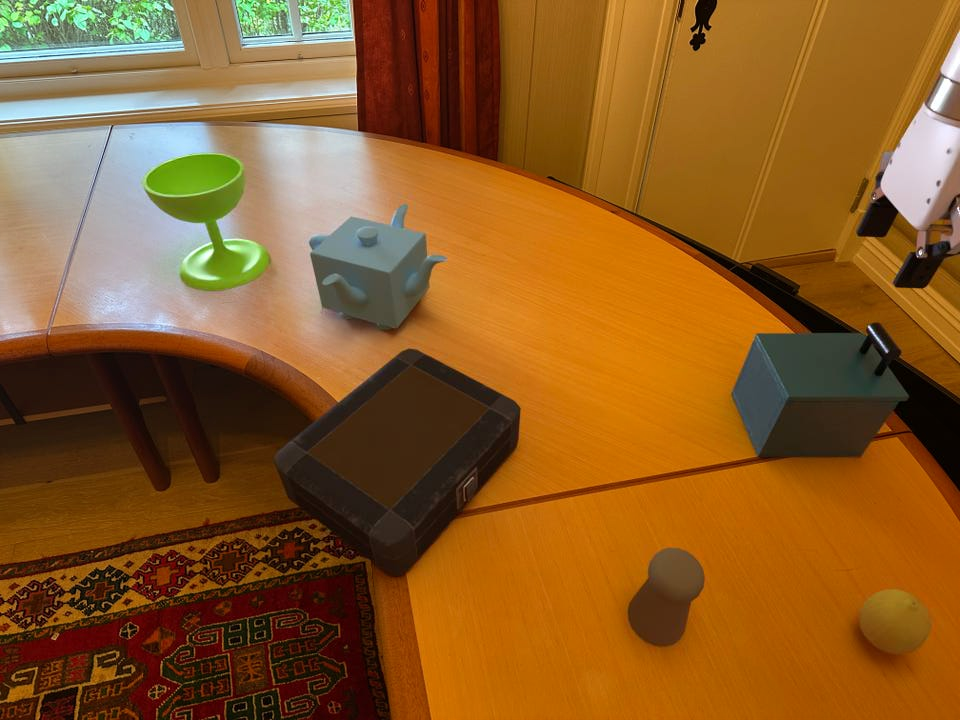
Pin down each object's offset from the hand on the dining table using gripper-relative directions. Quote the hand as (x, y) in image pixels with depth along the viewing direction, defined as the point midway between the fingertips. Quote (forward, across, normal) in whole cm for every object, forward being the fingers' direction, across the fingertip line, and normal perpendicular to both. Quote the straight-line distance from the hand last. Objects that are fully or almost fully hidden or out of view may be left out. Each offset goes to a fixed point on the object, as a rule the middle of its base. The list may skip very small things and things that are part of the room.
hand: (888, 259), depth 66 cm
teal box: (+27, -1, +1) cm, 27 cm away
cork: (+27, -29, +24) cm, 46 cm away
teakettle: (+27, +22, +62) cm, 71 cm away
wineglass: (+27, +32, +94) cm, 103 cm away
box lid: (+16, -1, +1) cm, 16 cm away
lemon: (+27, -30, +2) cm, 40 cm away
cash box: (+27, -12, +53) cm, 61 cm away
